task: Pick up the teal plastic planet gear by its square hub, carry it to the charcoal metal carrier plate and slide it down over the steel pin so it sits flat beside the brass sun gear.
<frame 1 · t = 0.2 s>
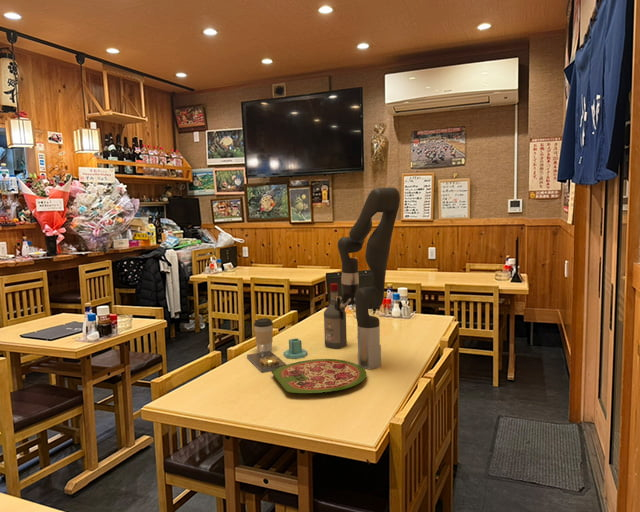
hand: (350, 318, 209), 17 cm above the table, tool pointing down, fingers open, 8 cm apart
carrier plate: (266, 362, 206), on the table
sun gear: (269, 366, 201), resting on carrier plate
pizza: (321, 380, 185), on the table
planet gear: (295, 355, 215), on the table
coffee cup: (264, 350, 223), on the table
liquor: (335, 346, 227), on the table
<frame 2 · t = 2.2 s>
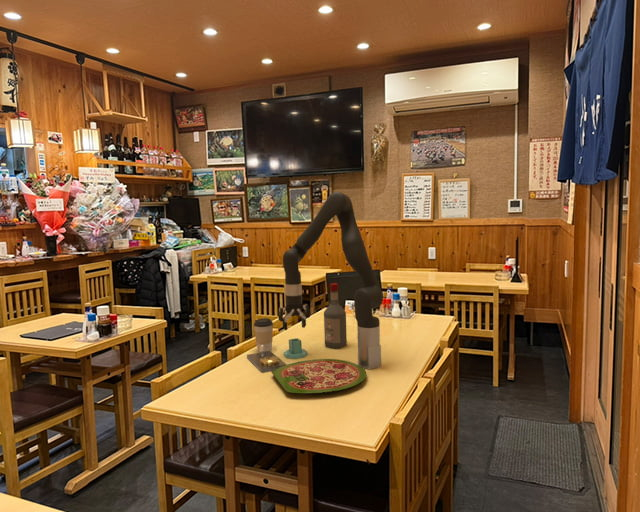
hand: (294, 328, 214), 12 cm above the table, tool pointing down, fingers open, 8 cm apart
nothing on the table moved.
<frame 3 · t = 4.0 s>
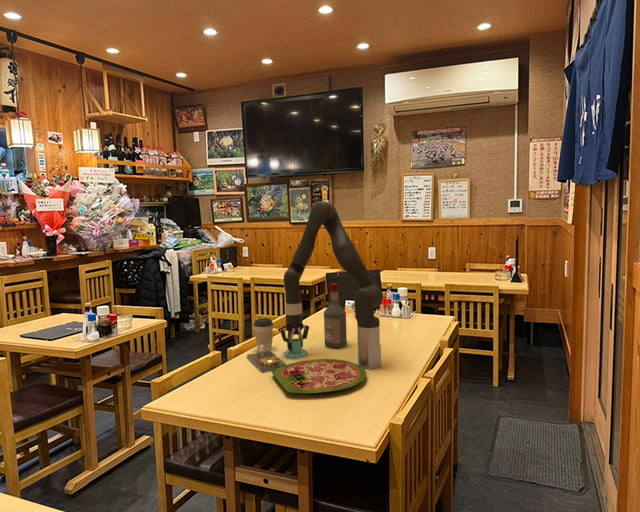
hand: (295, 349, 214), 3 cm above the table, tool pointing down, fingers closed on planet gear, 4 cm apart
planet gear: (295, 355, 215), on the table, touching gripper
everything else where it was.
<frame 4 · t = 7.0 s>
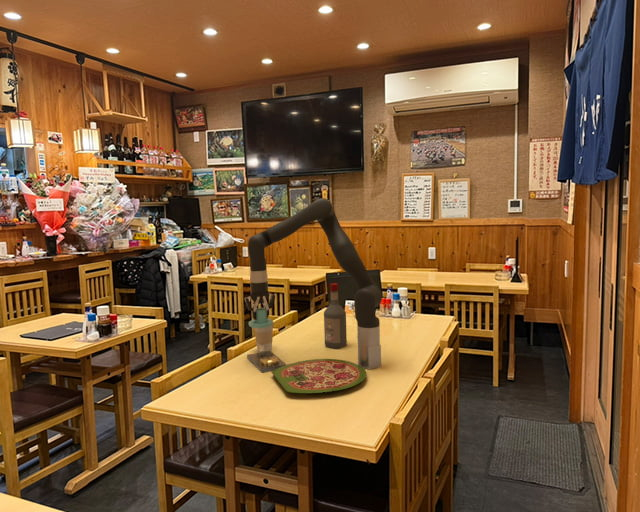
hand: (260, 318, 208), 19 cm above the table, tool pointing down, fingers closed on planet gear, 4 cm apart
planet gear: (261, 324, 208), point 16 cm above the table, touching gripper
everything else where it was.
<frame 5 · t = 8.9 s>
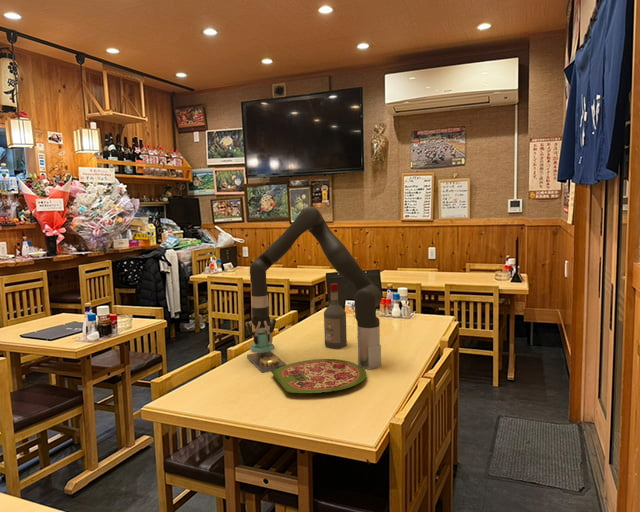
hand: (261, 342, 209), 8 cm above the table, tool pointing down, fingers closed on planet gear, 4 cm apart
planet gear: (262, 348, 210), point 5 cm above the table, touching gripper
everything else where it was.
when the fingers open (5 cm above the table, at t = 10.1 s): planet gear stays where it is, resting on carrier plate.
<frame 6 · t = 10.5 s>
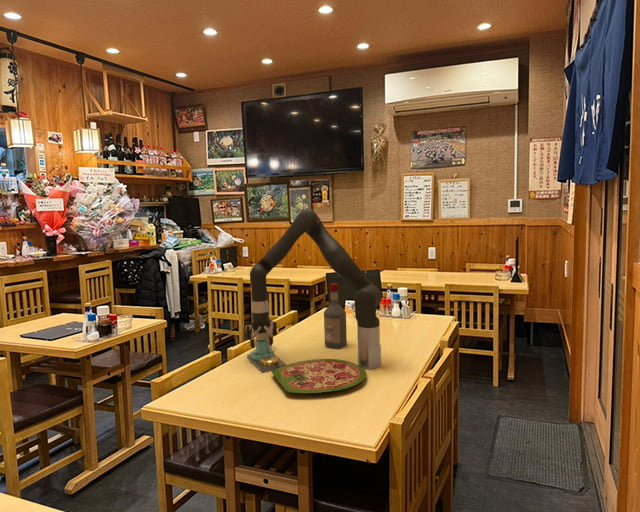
hand: (261, 346, 209), 6 cm above the table, tool pointing down, fingers open, 7 cm apart
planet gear: (262, 356, 210), point 1 cm above the table, touching carrier plate
everything else where it was.
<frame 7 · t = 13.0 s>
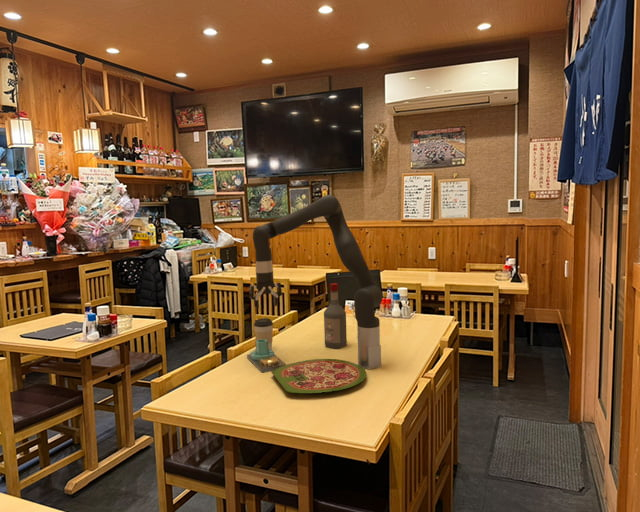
hand: (266, 307, 210), 23 cm above the table, tool pointing down, fingers open, 8 cm apart
nothing on the table moved.
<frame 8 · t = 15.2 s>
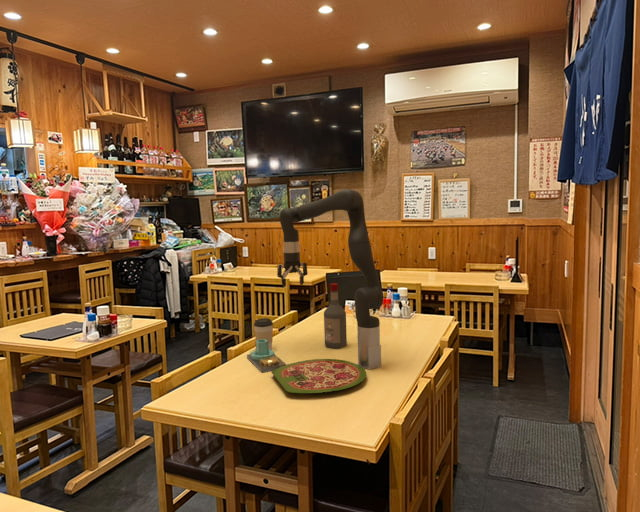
hand: (292, 285, 222), 30 cm above the table, tool pointing down, fingers open, 8 cm apart
nothing on the table moved.
at the end: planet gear 0.1 cm from the target spot on the carrier plate, point 1.5 cm above the carrier plate's base; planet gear tilted 0°; the gripper is holding nothing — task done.
